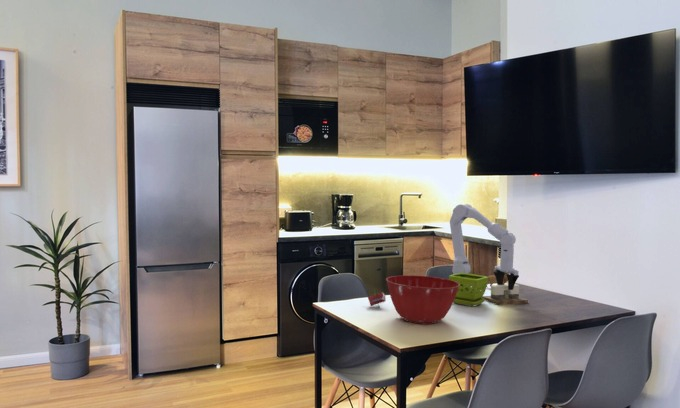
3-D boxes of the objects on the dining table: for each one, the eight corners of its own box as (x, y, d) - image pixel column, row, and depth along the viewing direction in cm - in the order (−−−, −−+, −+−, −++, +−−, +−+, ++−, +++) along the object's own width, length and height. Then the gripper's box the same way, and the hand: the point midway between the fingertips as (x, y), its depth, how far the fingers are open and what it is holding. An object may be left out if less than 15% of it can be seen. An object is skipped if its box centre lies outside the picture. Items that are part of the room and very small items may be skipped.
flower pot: (475, 308, 240) (476, 279, 240) (446, 303, 249) (447, 275, 248) (488, 303, 251) (489, 276, 251) (459, 298, 260) (461, 272, 259)
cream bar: (494, 295, 254) (495, 286, 254) (490, 293, 257) (491, 285, 257) (519, 293, 259) (519, 285, 259) (514, 292, 262) (515, 284, 262)
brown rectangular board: (498, 304, 249) (498, 294, 249) (481, 299, 260) (482, 288, 260) (527, 303, 256) (528, 292, 256) (510, 297, 267) (511, 287, 267)
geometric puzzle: (364, 302, 233) (376, 288, 233) (364, 299, 240) (375, 285, 240) (377, 313, 233) (389, 298, 233) (376, 309, 240) (388, 295, 240)
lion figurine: (505, 287, 296) (506, 270, 295) (511, 289, 290) (512, 272, 290) (481, 287, 292) (481, 270, 292) (486, 289, 287) (487, 272, 286)
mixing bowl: (409, 307, 236) (411, 272, 236) (470, 320, 218) (472, 281, 218) (370, 318, 214) (372, 279, 214) (434, 333, 196) (437, 290, 196)
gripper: (524, 261, 252) (522, 290, 253) (503, 256, 266) (501, 284, 266) (512, 261, 250) (510, 291, 250) (491, 257, 263) (490, 285, 263)
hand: (505, 288), depth 258 cm, fingers open, 7 cm apart
